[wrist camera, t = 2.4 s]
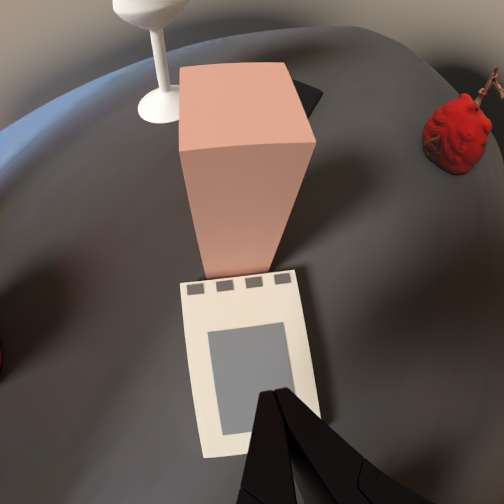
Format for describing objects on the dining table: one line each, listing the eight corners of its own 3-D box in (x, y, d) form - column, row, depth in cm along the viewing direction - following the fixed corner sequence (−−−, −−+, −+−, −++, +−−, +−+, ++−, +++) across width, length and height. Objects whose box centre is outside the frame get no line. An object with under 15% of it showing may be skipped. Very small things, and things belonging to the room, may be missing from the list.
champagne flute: (203, 85, 31) (201, -113, 8) (191, 124, 28) (178, -117, 6) (147, 85, 30) (121, -100, 8) (129, 123, 28) (81, -93, 6)
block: (268, 272, 23) (317, 142, 10) (206, 280, 22) (177, 151, 9) (257, 213, 24) (285, 62, 11) (200, 219, 24) (178, 67, 11)
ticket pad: (317, 433, 19) (324, 438, 17) (205, 452, 18) (203, 458, 16) (290, 275, 23) (294, 268, 21) (183, 288, 22) (179, 281, 20)
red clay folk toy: (471, 175, 29) (540, 97, 15) (442, 187, 28) (522, 95, 14) (436, 128, 32) (490, 45, 18) (403, 135, 30) (461, 36, 16)
